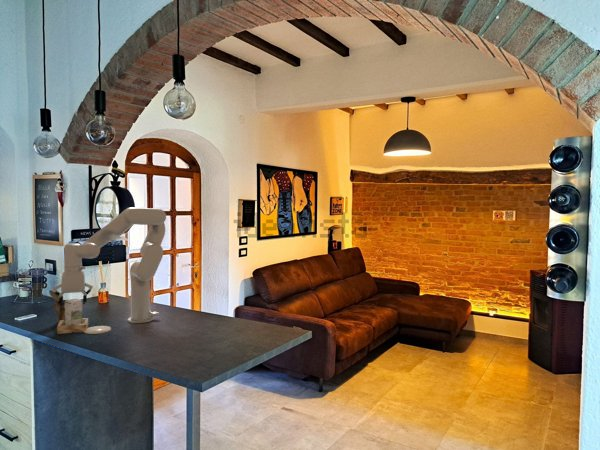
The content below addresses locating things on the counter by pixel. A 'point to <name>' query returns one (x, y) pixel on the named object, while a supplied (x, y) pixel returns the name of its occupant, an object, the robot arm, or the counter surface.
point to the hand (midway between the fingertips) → (73, 304)
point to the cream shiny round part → (97, 329)
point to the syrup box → (73, 312)
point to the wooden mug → (61, 311)
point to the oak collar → (72, 327)
